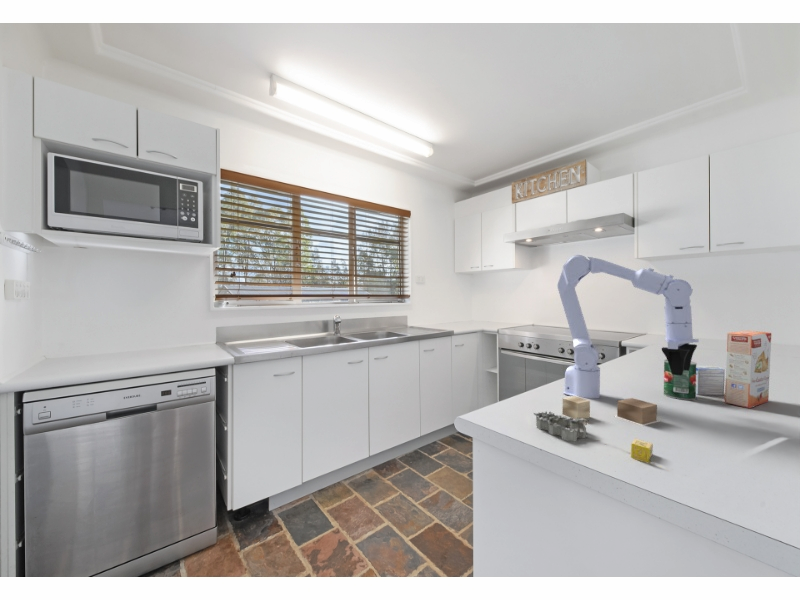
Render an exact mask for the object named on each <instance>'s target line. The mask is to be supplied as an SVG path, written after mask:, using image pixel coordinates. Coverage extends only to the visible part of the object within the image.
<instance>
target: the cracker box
mask: <svg viewBox="0 0 800 600" xmlns="http://www.w3.org/2000/svg"><path fill="white" fill-rule="evenodd" d="M771 346H772V332H766V331H755V330H743V331H742V330H741V331H734V332H728V333H727V334H726V351H725V353H726V354H725V355H726V356H725V381H724V403H726V404H729V405H734V406H738V407H742V408H746V409H751V408H754V407H756V406H759V405H762V404H765V403H767V402H769V396H770V395H769V393H770V392H769V391H770V375H771V373H770V370H771V351H772V349H771V348H772V347H771Z"/></svg>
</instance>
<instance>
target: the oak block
mask: <svg viewBox="0 0 800 600" xmlns="http://www.w3.org/2000/svg"><path fill="white" fill-rule="evenodd" d="M562 416H565V417H567V418H571V417H572V418H574V419H577V417H578V418H582V419H583V418H584V419H589V418H590V417H591V400H588V399H587V398H583V397H579V396H576V395H575V396H567V397H563V398H562Z"/></svg>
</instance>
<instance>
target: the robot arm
mask: <svg viewBox="0 0 800 600" xmlns="http://www.w3.org/2000/svg"><path fill="white" fill-rule="evenodd" d="M654 270H655V269H654V268H651V267H649V268H648V269H647V268H640V269H639V270H634V269H631V268H628V267H626V266H622V265H619V264H617V263H613V262H611V261H608V260H605V259H601V258H597V257H593V256H587V257H586V256H585V255H582V254H575V255H573V256H570V258H568V259H567V261H566V262H565V263H564V265H563V266H562V270H561V273H560V276H559V279H558V282H557V291H558V294H559V297H560V300H561V304H562V307H563V309H564V310H563V311H564V314H565V317H566V320H567V324H568V328H569V331H570V334H571V337H572V341H573V345H572V346H573V348H574V349H573V350H574V356H573V361H574V364H573V365H570V366H568V367H567V368H566V370H565V372H564V391H563V392H562V394H565V395H567V396H569V397H572V396H576V397H579V398H582V399H599V398H600V397H601V396H600V395H601V389H600V388H601V367H600V366H598V361H599V359H600V352H599V350H598V349H597V348H596V347H595V346H594V344H593V340H592V339H591V336H590V334H589V331H588V327H587V324H586V321H585V317H584V314H583V311H582V308H581V304H580V301H579V298H578V294H577V291H576V287H577V286H578V284H579V283H580V282H581V280H582V279H583V278H585V277H586V276H587V275H588V274H590V273H591V274H600V273H604V274H607V275H610V276H614V277H618V278H621V279H624V280H627V281H630V282H631V284H632V285H633V287H634V288H637V289H640V290H642V291H645V292H648V293H650V294H654V295H657V296H660V295H662V296H663V297H664V301H665V303H664V305H665V306H664V322H665V324H664V327H665V339H664V340H665V341H664V342H665V343H667V347H666V346H665V347H664V346H662V347H661V351H662V354H663V355H664V356H665V358H666V359H667V360H668V363H669V366H670V369H671V372H672V374H674V375H682V374H683V371H684V370H687V371H689V369H690V365H691V361H692V359H693V355H694V354H695V351H696V349H697V347H698V345H697V344H695V343H699V338H693V322H692V321H693V319H692V318H693V317H692V316H693V314H692V305H691V299H690V298H691V296H692V293H693V288H692V285H691V284H690V283H689V282H688V281H686V280H683V279H680V278H679V279H677V278H674V275H672V274H669V275H666V274H663V273H659V272H656V271H654ZM673 278H674V279H673ZM693 343H694V344H693Z"/></svg>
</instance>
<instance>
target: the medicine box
mask: <svg viewBox="0 0 800 600" xmlns="http://www.w3.org/2000/svg"><path fill="white" fill-rule="evenodd" d="M725 378H726V368H723V367H719V366H715V365H696V395H697V396H725Z"/></svg>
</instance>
